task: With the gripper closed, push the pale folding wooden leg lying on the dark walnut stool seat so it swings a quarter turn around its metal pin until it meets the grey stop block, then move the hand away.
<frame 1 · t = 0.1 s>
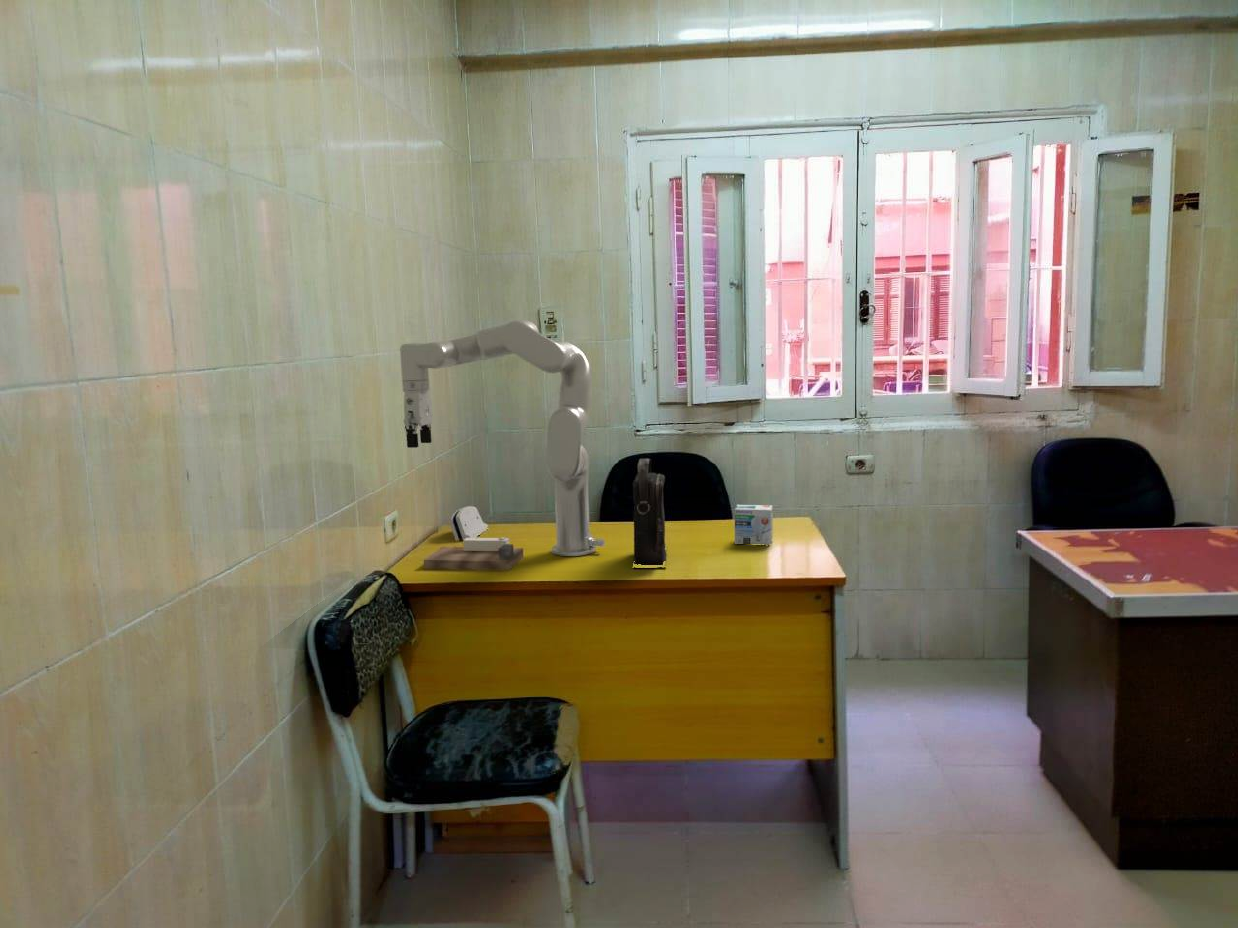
hand: (419, 445, 255), 31 cm above the table, tool pointing down, fingers open, 9 cm apart
light bulb box: (753, 543, 256), on the table
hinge: (469, 536, 276), on the table
folding leg: (486, 543, 246), point 4 cm above the table, hinge at 0.0°
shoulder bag: (650, 558, 242), on the table
stool seat: (474, 562, 243), on the table
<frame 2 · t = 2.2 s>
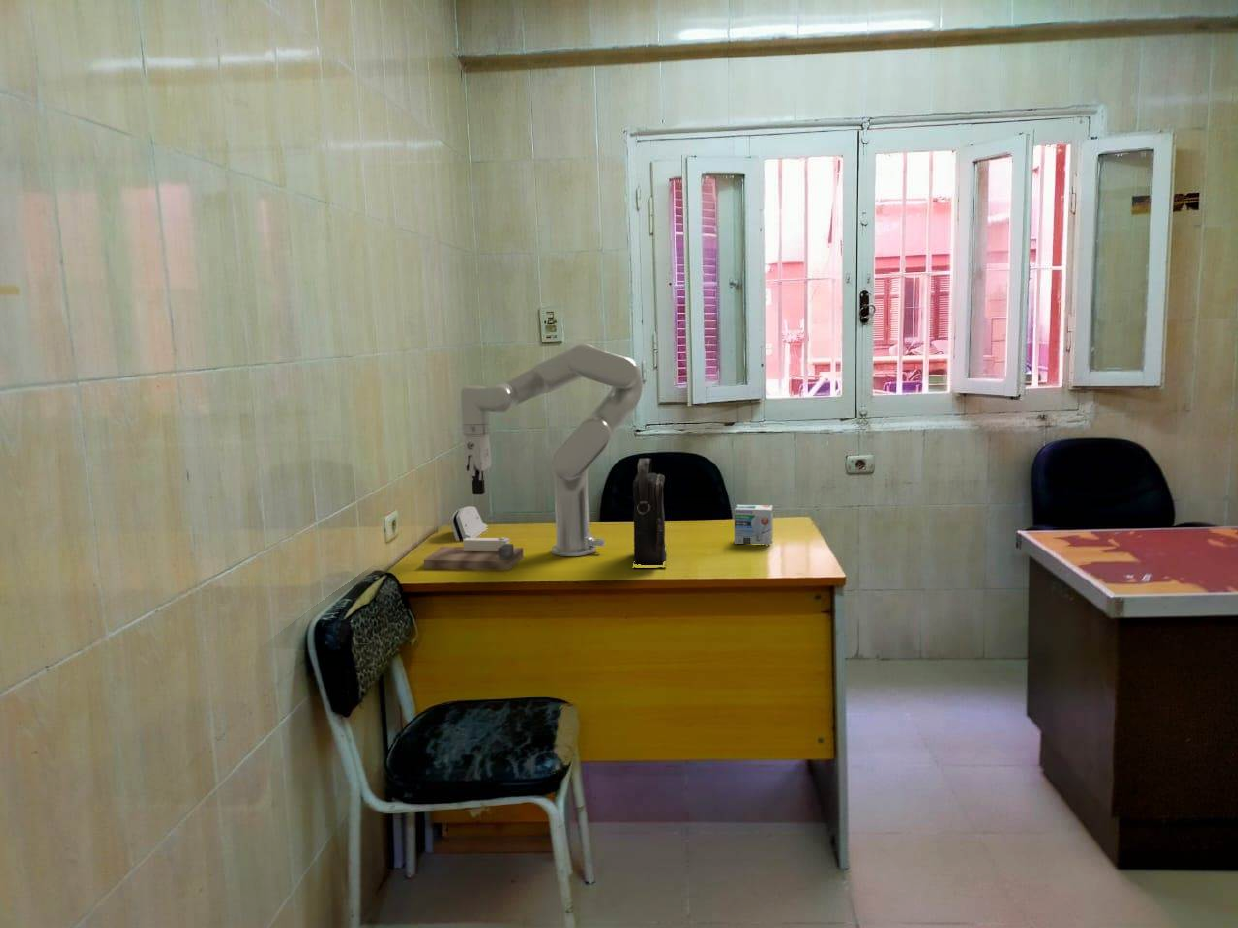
hand: (478, 493, 250), 18 cm above the table, tool pointing down, fingers closed
nothing on the table moved.
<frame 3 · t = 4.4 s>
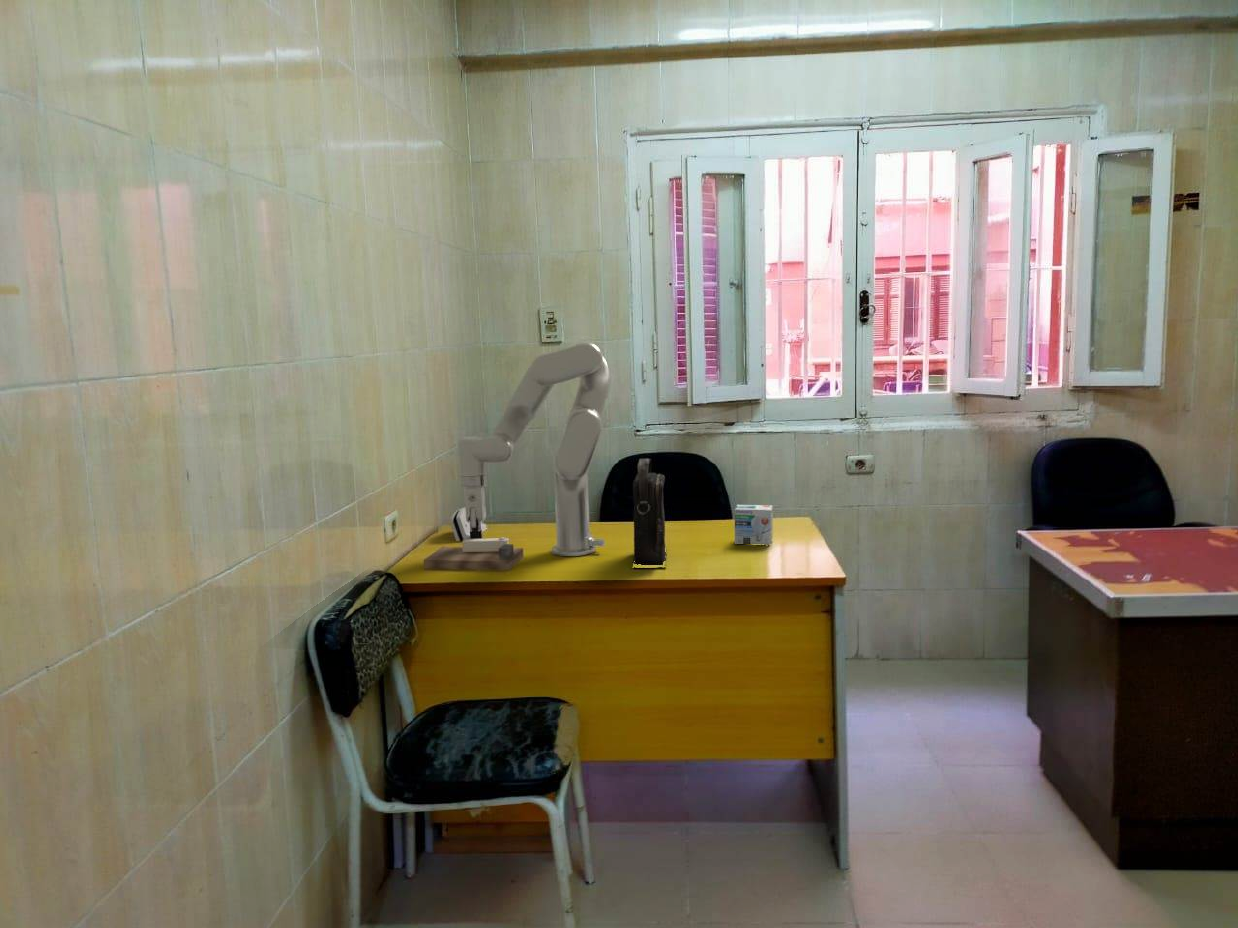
hand: (476, 544, 249), 4 cm above the table, tool pointing down, fingers closed
folding leg: (485, 544, 245), point 4 cm above the table, hinge at 7.5°, touching gripper
everything else where it was.
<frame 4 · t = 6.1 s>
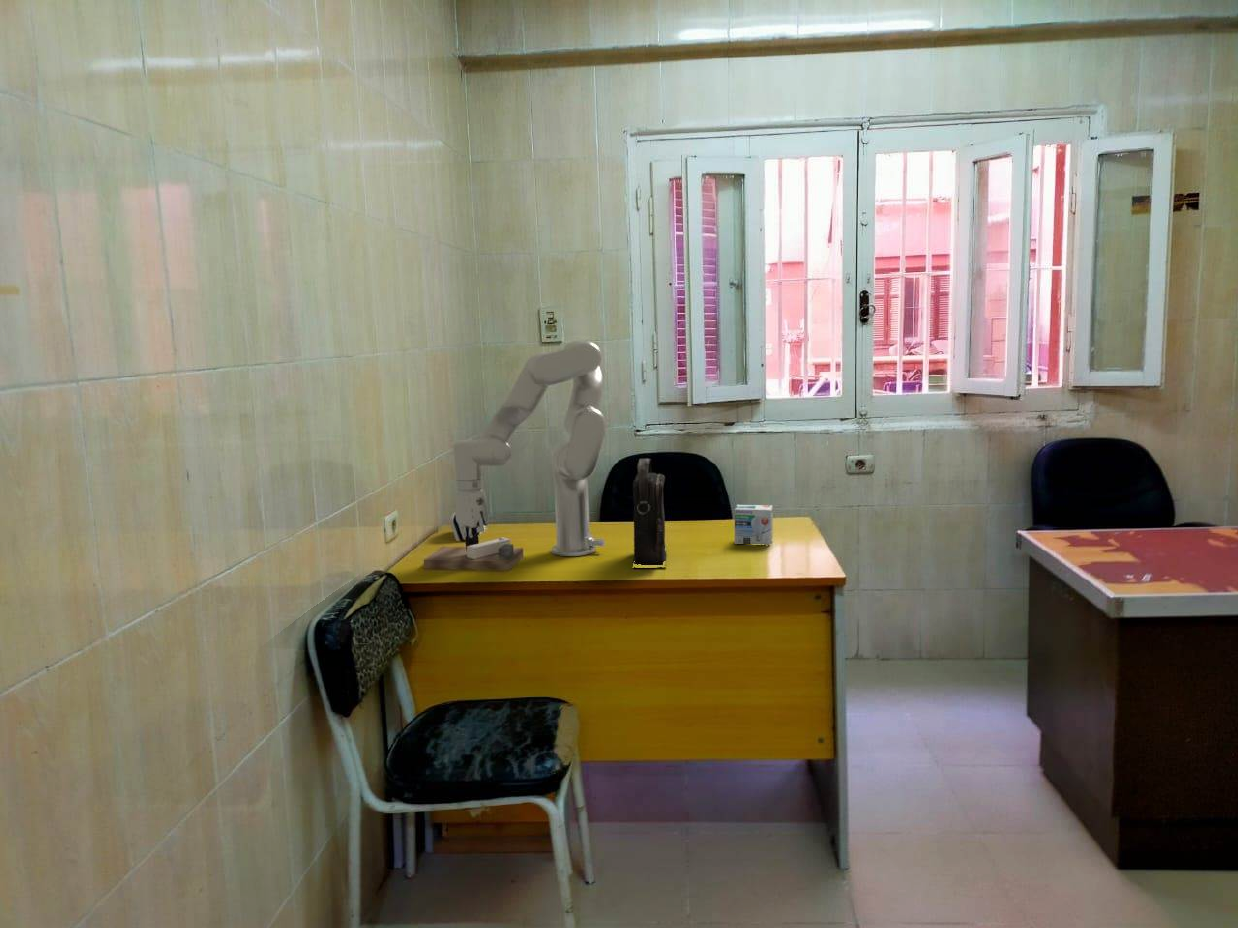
hand: (472, 550, 242), 4 cm above the table, tool pointing down, fingers closed
folding leg: (488, 547, 241), point 4 cm above the table, hinge at 55.5°, touching gripper
everything else where it was.
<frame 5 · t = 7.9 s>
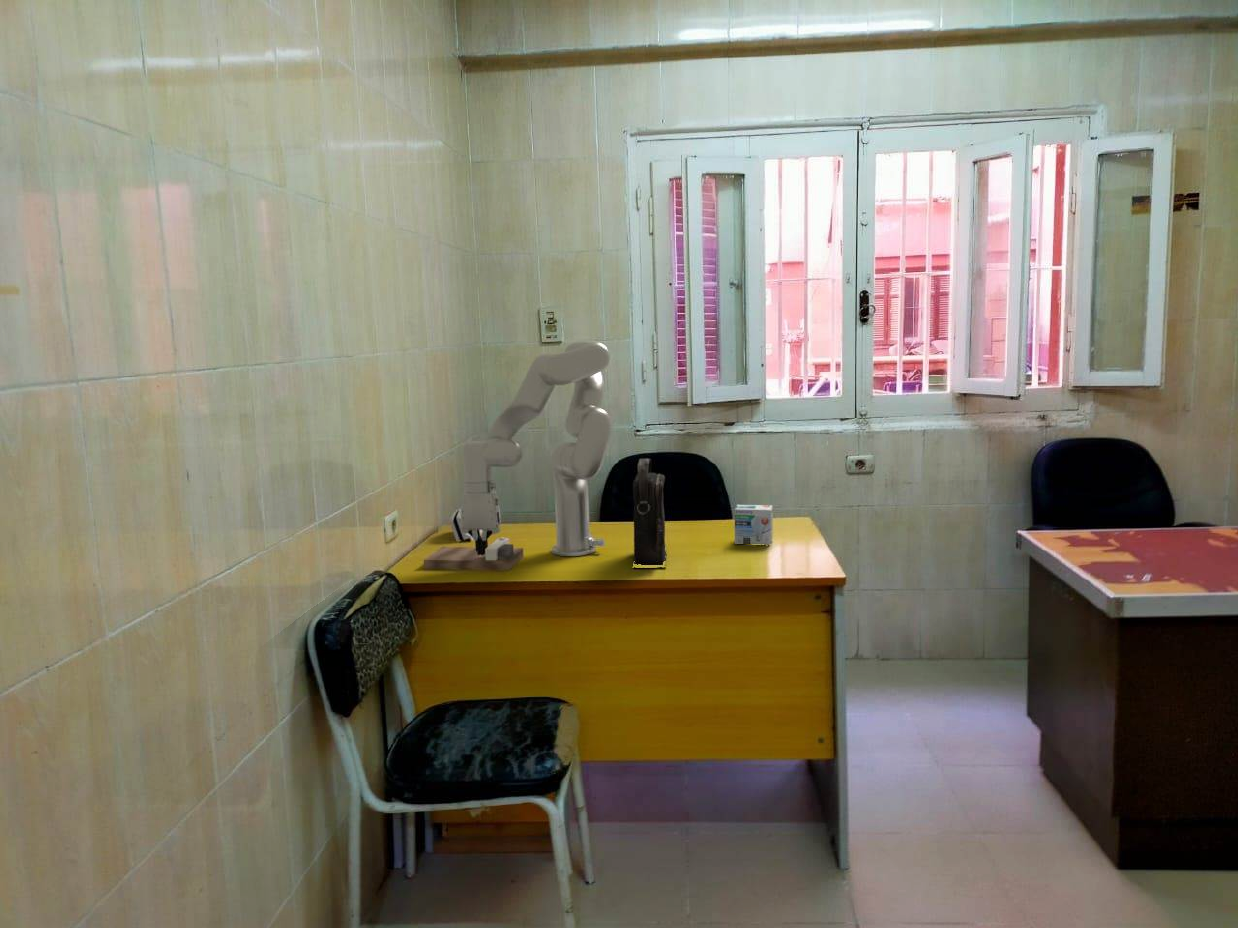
hand: (482, 553, 238), 4 cm above the table, tool pointing down, fingers closed
folding leg: (497, 548, 240), point 4 cm above the table, hinge at 90.9°, touching gripper
everything else where it was.
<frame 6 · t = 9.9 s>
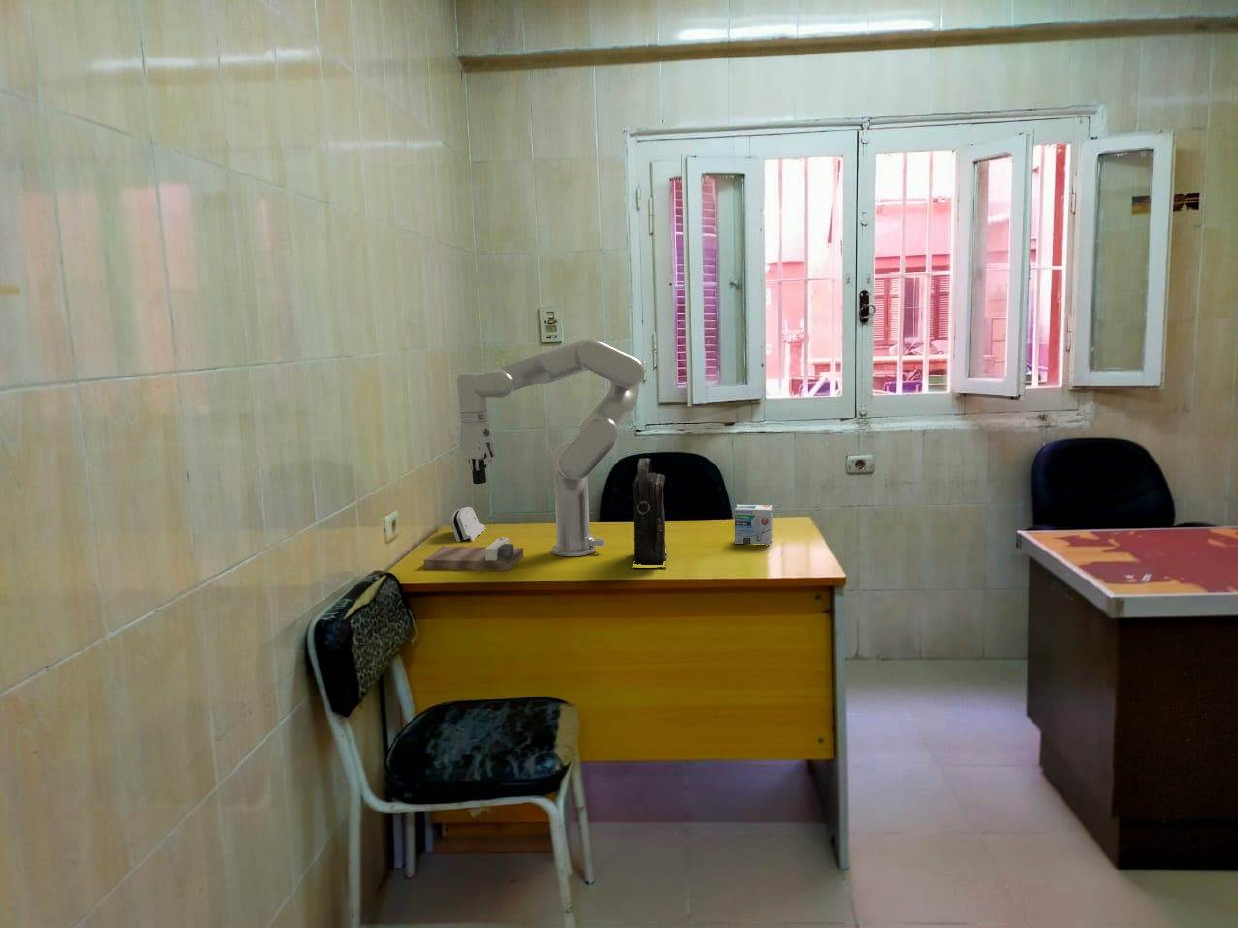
hand: (479, 483, 243), 22 cm above the table, tool pointing down, fingers closed
folding leg: (497, 548, 240), point 4 cm above the table, hinge at 90.9°
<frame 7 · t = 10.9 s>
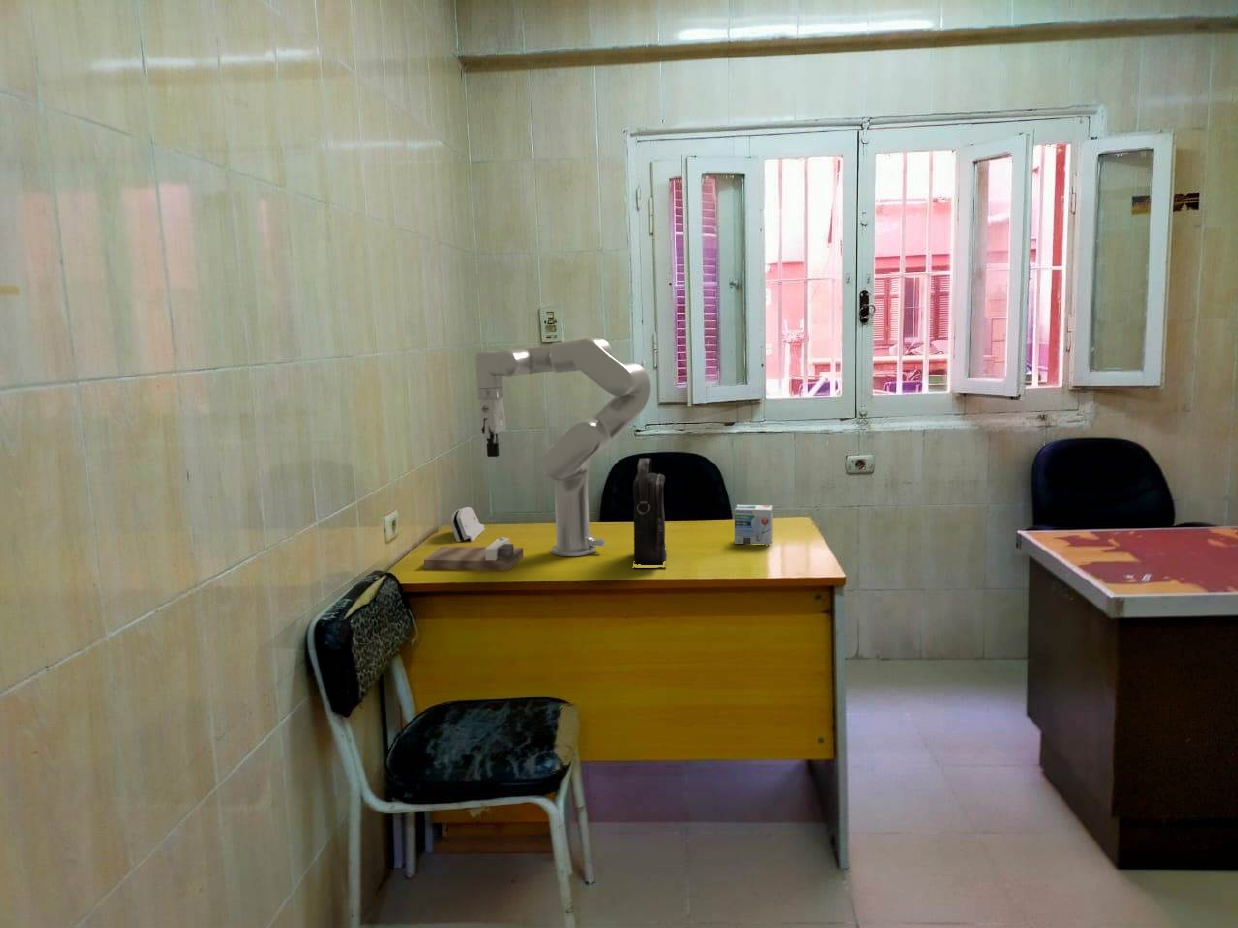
hand: (493, 456, 256), 27 cm above the table, tool pointing down, fingers closed
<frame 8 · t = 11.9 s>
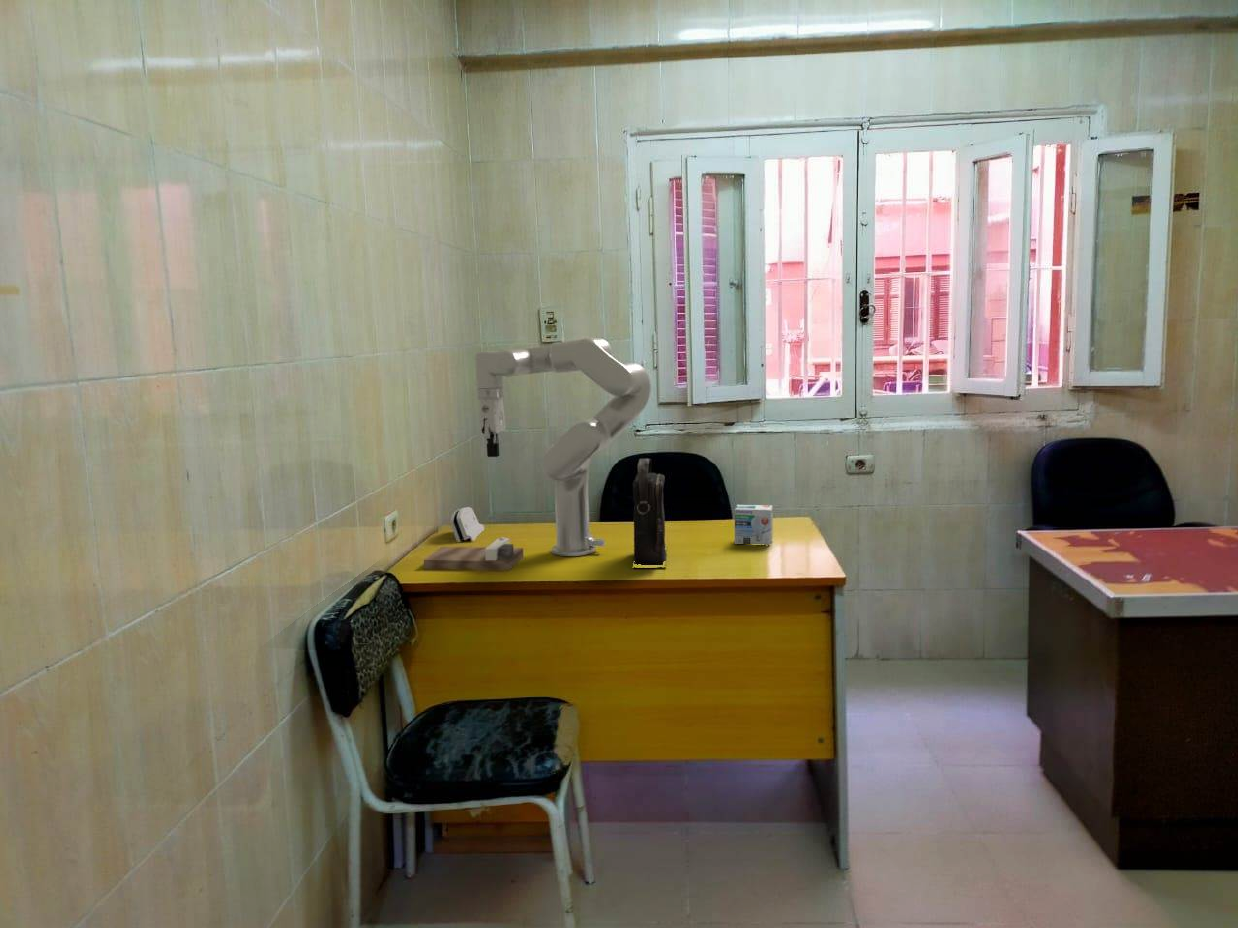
hand: (493, 456, 256), 27 cm above the table, tool pointing down, fingers closed
at the end: folding leg at +91° (first picture: +0°) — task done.
